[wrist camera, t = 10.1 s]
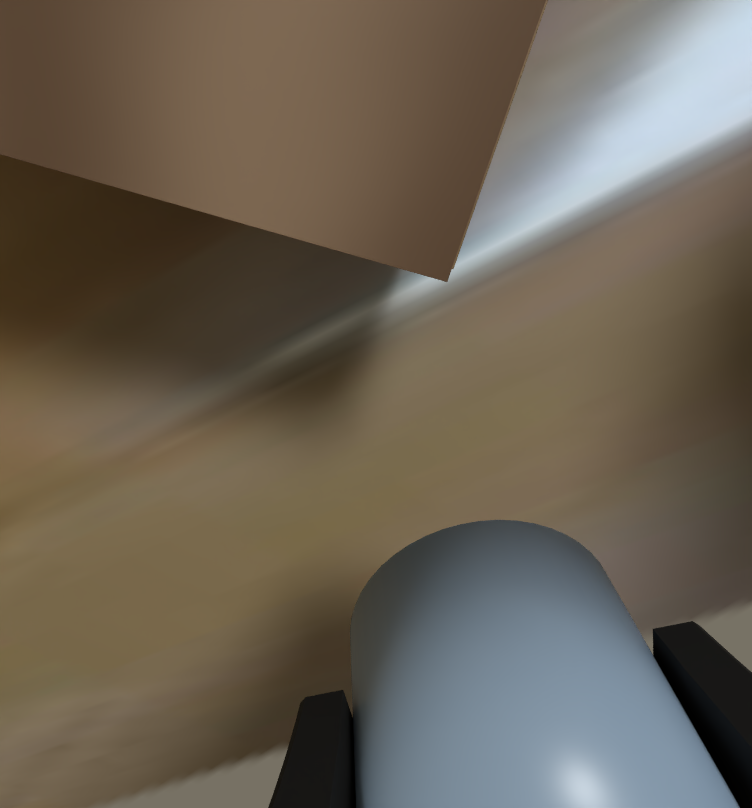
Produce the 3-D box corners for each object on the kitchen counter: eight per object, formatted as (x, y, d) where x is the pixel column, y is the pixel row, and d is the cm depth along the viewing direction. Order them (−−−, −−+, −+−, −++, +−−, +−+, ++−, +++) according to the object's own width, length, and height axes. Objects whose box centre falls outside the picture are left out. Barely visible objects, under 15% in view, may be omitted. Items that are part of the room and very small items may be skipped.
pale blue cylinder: (660, 551, 11) (896, 880, 6) (549, 733, 13) (668, 1086, 8) (397, 492, 10) (452, 825, 5) (320, 698, 12) (312, 1070, 7)
